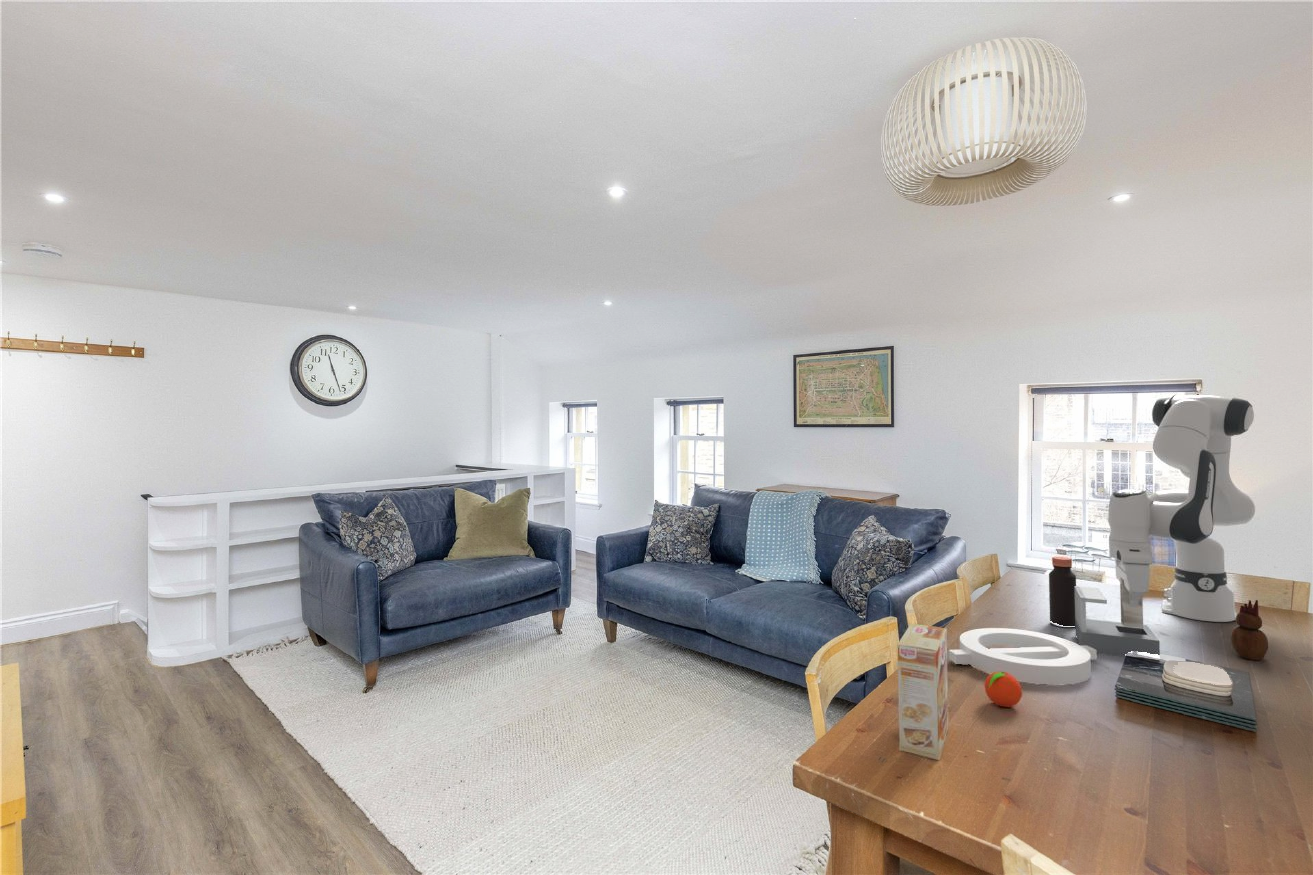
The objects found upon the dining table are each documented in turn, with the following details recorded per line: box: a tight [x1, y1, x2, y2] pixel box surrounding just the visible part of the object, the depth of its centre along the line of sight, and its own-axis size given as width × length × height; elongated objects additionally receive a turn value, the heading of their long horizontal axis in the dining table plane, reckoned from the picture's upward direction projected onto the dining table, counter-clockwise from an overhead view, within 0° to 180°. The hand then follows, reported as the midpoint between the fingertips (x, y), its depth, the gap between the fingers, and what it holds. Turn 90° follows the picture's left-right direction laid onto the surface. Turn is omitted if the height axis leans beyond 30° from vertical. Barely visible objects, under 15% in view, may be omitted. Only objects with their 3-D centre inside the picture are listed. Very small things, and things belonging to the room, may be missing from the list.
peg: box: [1119, 577, 1144, 628], centre depth 159 cm, size 4×4×12 cm
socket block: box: [1074, 585, 1161, 657], centre depth 161 cm, size 14×16×14 cm
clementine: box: [984, 672, 1023, 708], centre depth 128 cm, size 8×7×7 cm
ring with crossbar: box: [948, 627, 1098, 686], centre depth 152 cm, size 28×28×5 cm
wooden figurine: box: [1230, 599, 1269, 661], centre depth 152 cm, size 7×6×15 cm
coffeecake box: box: [896, 623, 949, 761], centre depth 115 cm, size 15×7×20 cm, turn 148°
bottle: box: [1048, 556, 1077, 626], centre depth 181 cm, size 7×7×20 cm
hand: (1131, 603), depth 159 cm, fingers closed on peg, 4 cm apart
